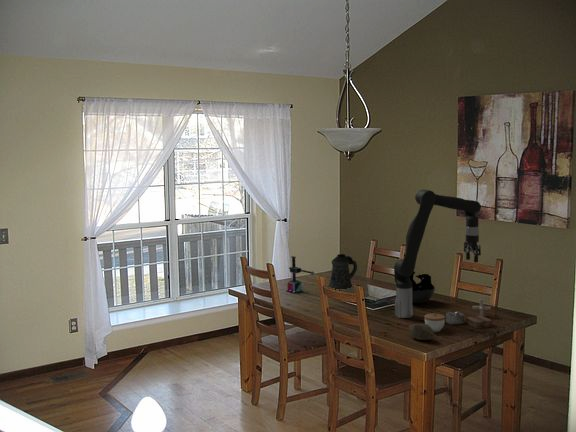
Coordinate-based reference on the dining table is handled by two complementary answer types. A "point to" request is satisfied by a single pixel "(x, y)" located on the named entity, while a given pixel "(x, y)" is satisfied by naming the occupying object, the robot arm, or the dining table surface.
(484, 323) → the stand
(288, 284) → the magnetic base gauge holder
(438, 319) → the lidded jar
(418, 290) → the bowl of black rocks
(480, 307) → the pipe connector
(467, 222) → the robot arm
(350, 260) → the beer stein
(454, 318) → the housing
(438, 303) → the dining table surface
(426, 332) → the stone
